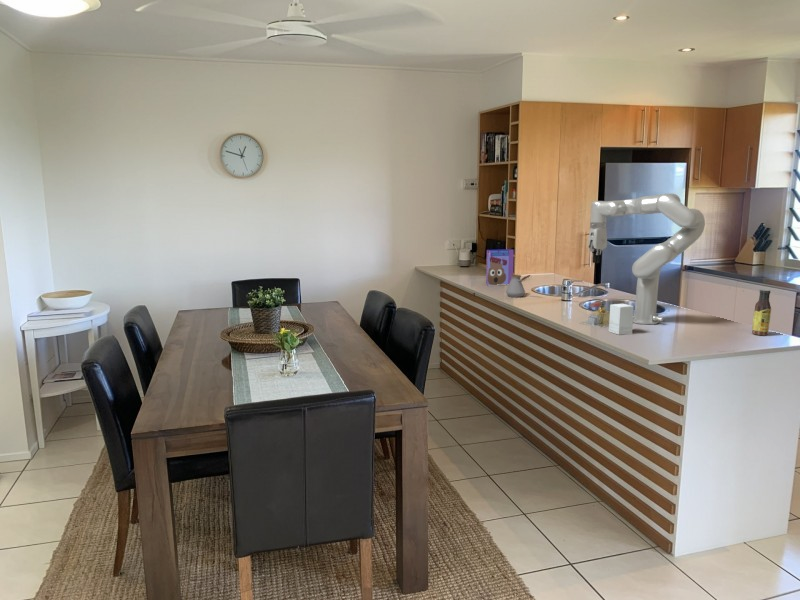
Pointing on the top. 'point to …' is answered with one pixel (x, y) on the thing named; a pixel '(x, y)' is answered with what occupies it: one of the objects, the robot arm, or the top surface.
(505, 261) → the cereal box
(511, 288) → the coffee pot
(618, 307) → the supplement box
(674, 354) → the top surface
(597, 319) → the valve
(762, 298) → the sauce bottle
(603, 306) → the lever
